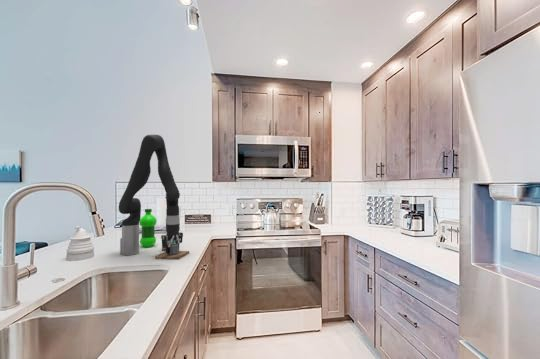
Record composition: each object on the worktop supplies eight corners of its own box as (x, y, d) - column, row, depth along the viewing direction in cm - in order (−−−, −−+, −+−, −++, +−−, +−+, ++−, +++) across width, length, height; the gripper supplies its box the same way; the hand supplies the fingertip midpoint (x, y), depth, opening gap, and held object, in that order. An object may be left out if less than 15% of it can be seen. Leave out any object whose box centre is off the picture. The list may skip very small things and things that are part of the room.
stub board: (154, 258, 150) (154, 250, 150) (167, 252, 163) (167, 244, 164) (178, 259, 148) (178, 250, 148) (189, 253, 162) (189, 245, 162)
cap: (179, 253, 155) (179, 244, 155) (169, 255, 152) (169, 246, 152) (176, 251, 160) (176, 242, 160) (165, 253, 156) (165, 244, 156)
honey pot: (79, 261, 146) (80, 228, 146) (60, 260, 148) (60, 227, 149) (99, 255, 158) (99, 224, 159) (81, 254, 161) (81, 224, 161)
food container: (169, 251, 166) (169, 235, 166) (160, 251, 167) (160, 235, 167) (180, 247, 178) (180, 232, 178) (171, 246, 179) (171, 231, 179)
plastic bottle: (144, 244, 186) (144, 208, 186) (159, 244, 185) (159, 208, 186) (136, 248, 176) (136, 209, 176) (152, 248, 175) (152, 209, 176)
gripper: (167, 225, 148) (167, 255, 148) (186, 222, 161) (186, 250, 161) (158, 224, 151) (157, 254, 151) (177, 221, 164) (177, 248, 164)
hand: (172, 252), depth 156 cm, fingers closed on cap, 6 cm apart
